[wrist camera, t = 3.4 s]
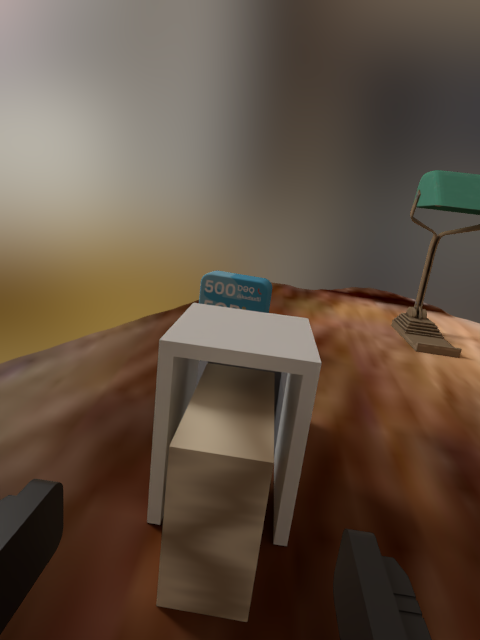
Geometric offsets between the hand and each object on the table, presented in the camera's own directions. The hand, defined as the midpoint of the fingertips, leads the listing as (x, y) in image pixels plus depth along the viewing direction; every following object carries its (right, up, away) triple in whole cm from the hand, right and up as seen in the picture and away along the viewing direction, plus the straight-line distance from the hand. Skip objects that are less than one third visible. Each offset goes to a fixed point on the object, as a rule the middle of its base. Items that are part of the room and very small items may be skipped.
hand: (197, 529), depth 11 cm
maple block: (-1, -10, +18) cm, 21 cm away
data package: (-1, +2, +62) cm, 62 cm away
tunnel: (0, -9, +23) cm, 25 cm away
